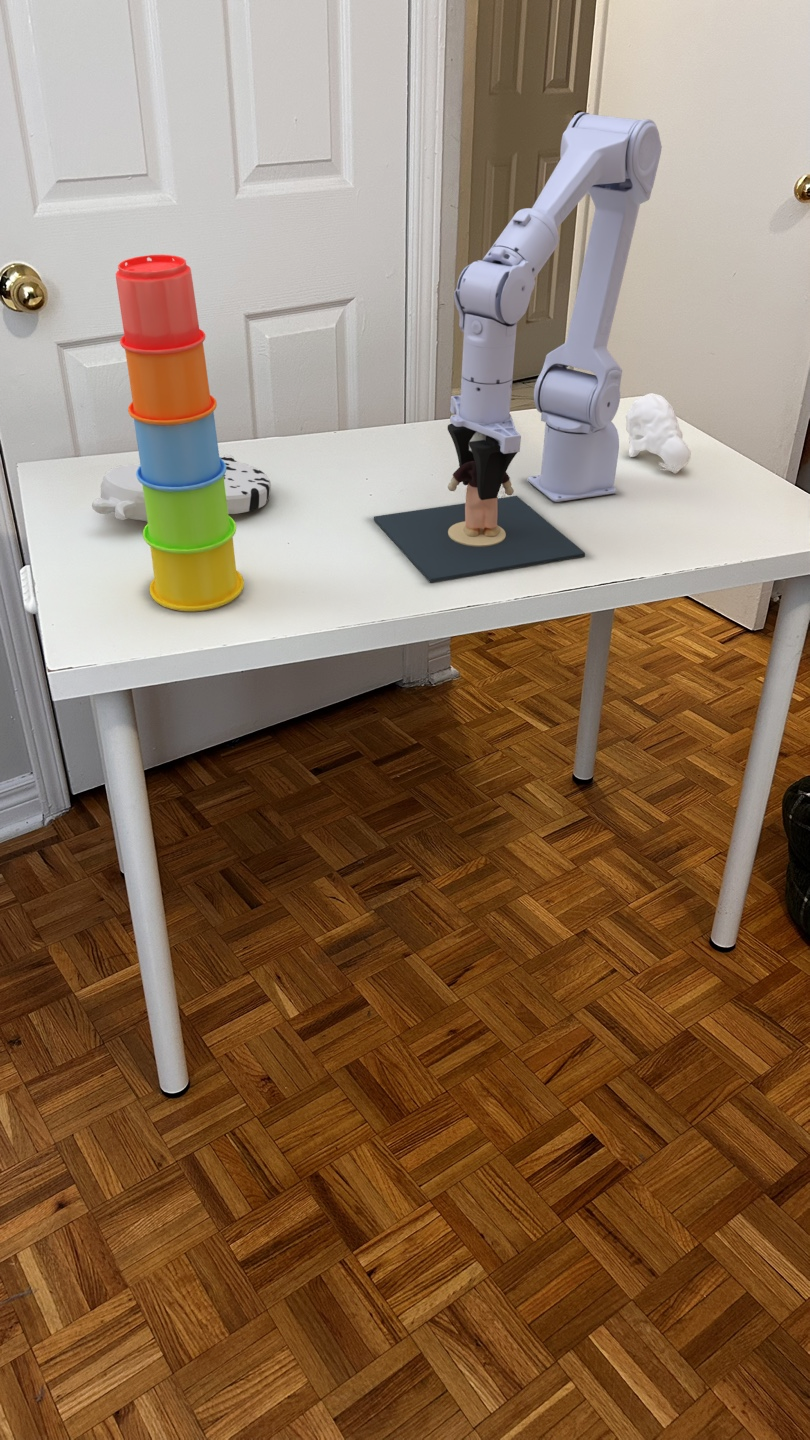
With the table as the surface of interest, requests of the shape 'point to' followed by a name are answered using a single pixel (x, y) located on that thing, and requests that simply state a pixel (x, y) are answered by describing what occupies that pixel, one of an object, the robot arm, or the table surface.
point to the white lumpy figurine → (656, 431)
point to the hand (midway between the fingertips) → (479, 490)
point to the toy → (127, 496)
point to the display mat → (476, 540)
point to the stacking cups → (176, 437)
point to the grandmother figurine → (478, 499)
